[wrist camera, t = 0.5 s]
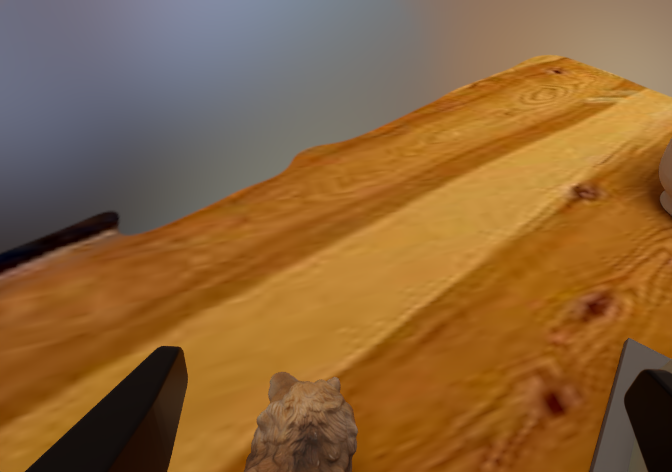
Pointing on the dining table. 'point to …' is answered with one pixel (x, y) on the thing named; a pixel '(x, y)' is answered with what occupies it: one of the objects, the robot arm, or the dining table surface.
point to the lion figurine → (304, 428)
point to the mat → (622, 409)
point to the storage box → (637, 464)
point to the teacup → (666, 178)
